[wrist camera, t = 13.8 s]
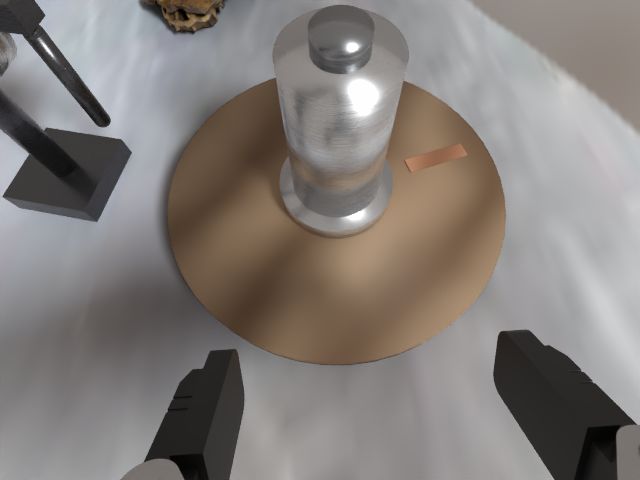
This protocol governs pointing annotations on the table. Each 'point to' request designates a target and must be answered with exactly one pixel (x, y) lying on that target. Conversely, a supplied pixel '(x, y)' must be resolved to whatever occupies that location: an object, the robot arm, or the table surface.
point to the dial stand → (56, 133)
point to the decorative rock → (189, 13)
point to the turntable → (336, 254)
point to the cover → (338, 117)
